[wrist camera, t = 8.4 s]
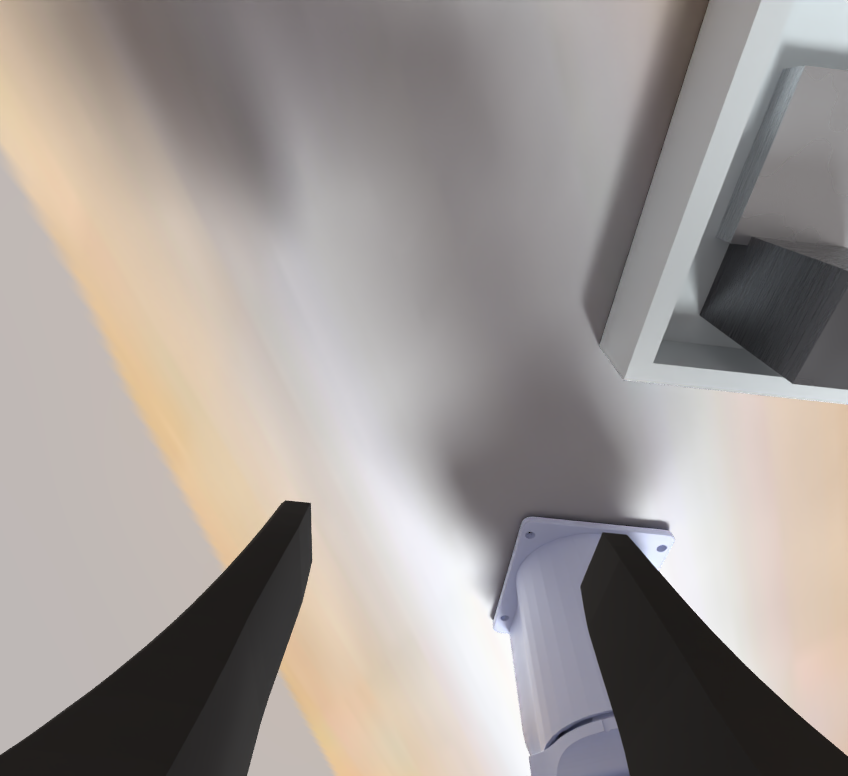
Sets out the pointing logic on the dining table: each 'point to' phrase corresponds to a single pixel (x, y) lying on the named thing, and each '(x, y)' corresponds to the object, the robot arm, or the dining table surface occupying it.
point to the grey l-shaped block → (791, 235)
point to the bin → (712, 198)
